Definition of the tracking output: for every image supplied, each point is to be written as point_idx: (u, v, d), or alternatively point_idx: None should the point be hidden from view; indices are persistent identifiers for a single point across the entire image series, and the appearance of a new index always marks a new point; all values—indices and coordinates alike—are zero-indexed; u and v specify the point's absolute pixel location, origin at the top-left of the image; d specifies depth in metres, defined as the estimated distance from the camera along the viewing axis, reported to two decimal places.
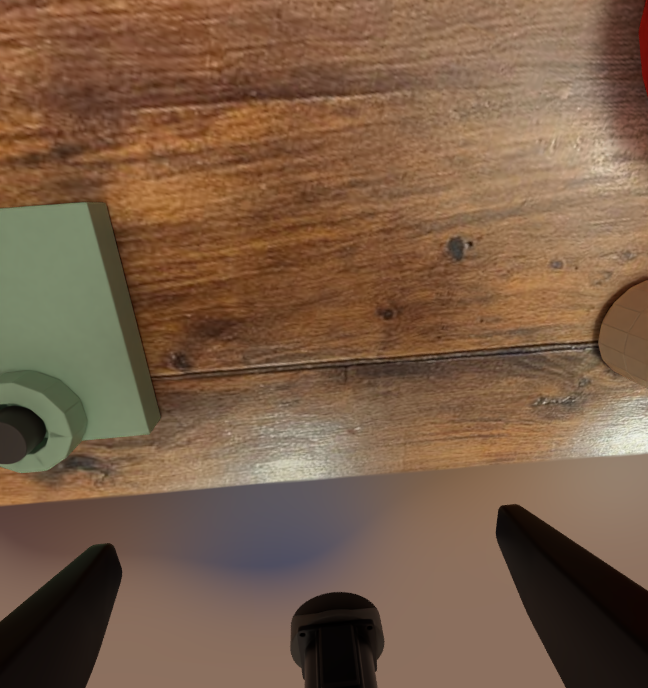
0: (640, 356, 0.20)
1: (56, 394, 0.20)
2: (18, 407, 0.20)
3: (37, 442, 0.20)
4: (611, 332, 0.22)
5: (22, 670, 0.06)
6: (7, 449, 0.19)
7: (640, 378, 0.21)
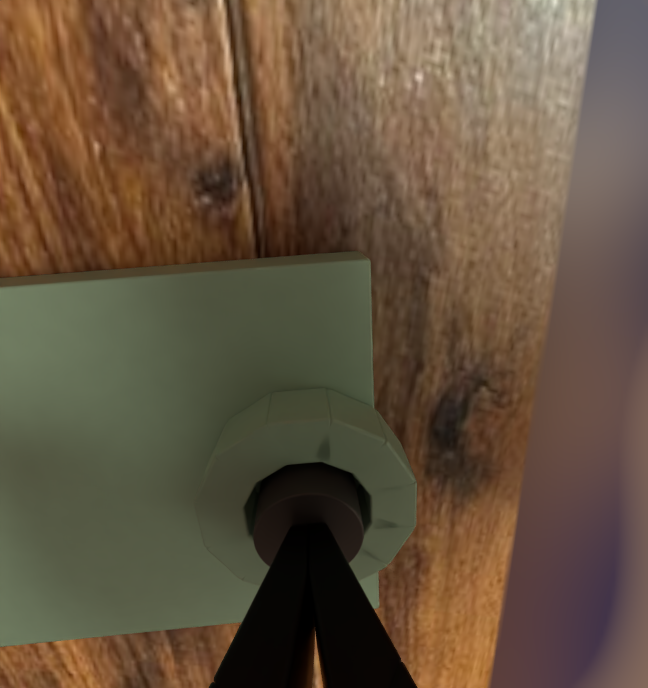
0: None
1: (235, 431, 0.09)
2: (260, 487, 0.10)
3: (332, 472, 0.09)
4: None
5: (300, 641, 0.06)
6: None
7: None
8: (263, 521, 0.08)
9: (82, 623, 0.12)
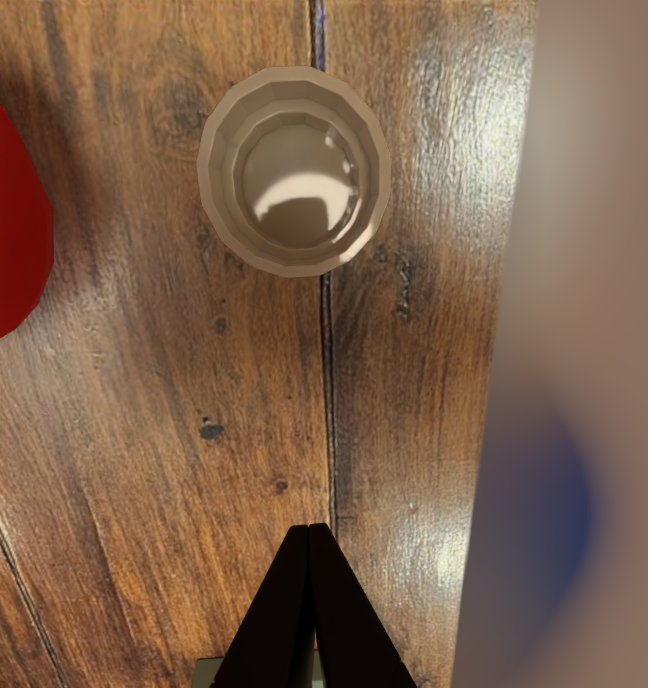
0: None
1: None
2: None
3: None
4: None
5: (300, 641, 0.06)
6: None
7: None
8: None
9: None
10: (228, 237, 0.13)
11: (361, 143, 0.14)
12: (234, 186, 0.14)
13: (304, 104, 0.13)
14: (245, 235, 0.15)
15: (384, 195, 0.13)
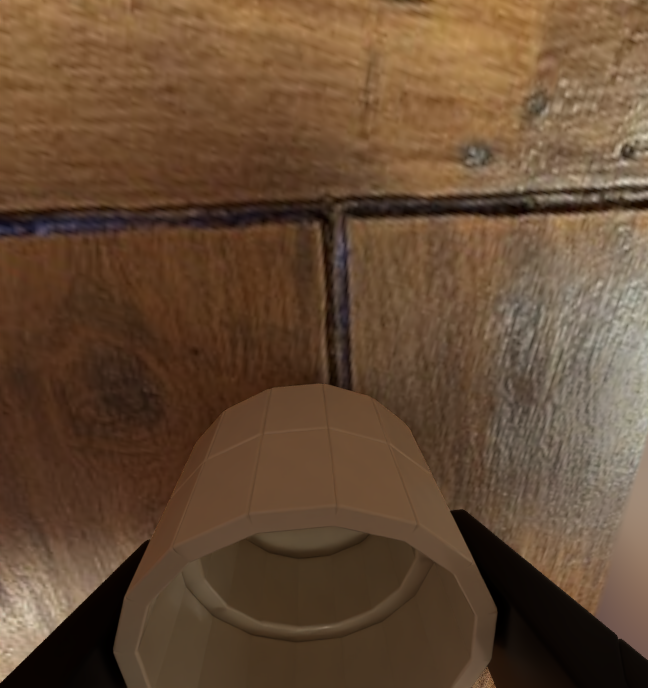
0: None
1: None
2: None
3: None
4: None
5: (98, 662, 0.06)
6: None
7: None
8: None
9: None
10: None
11: None
12: (201, 558, 0.08)
13: None
14: (223, 619, 0.09)
15: (481, 661, 0.07)
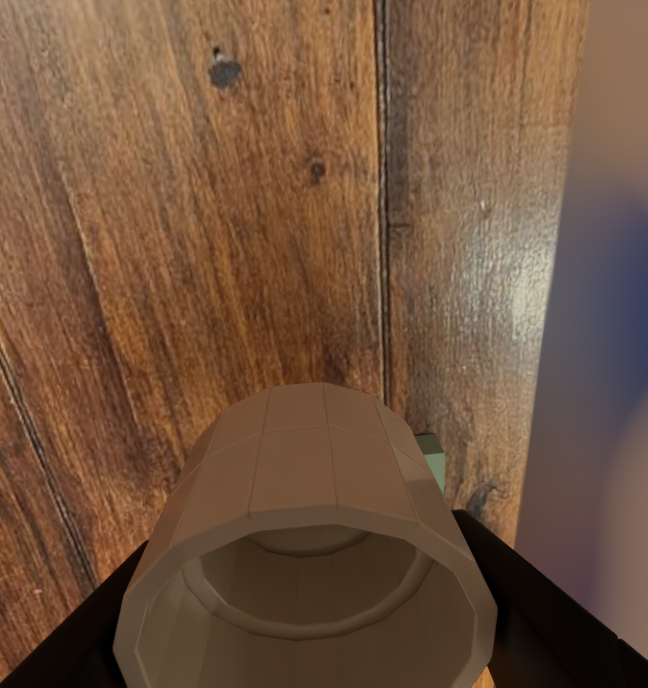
0: None
1: None
2: None
3: None
4: None
5: (98, 662, 0.06)
6: None
7: None
8: None
9: None
10: None
11: None
12: (201, 557, 0.08)
13: None
14: (223, 618, 0.09)
15: (481, 660, 0.07)
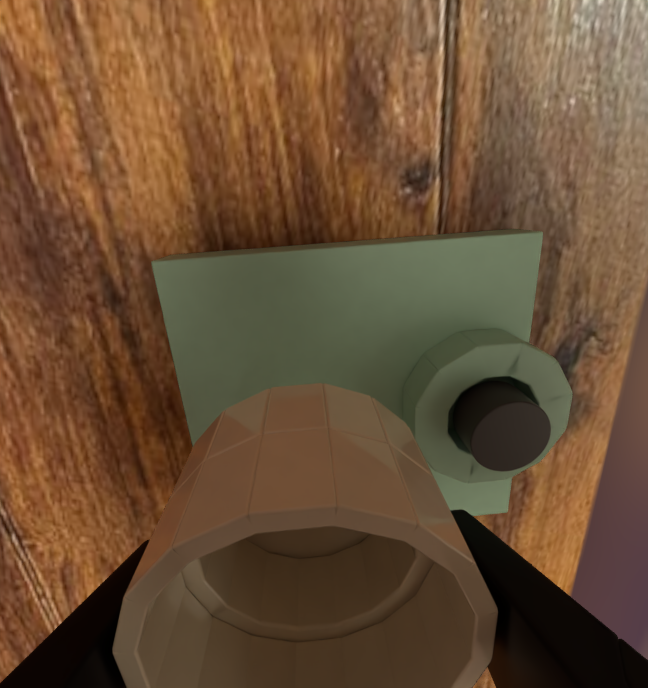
0: None
1: (443, 355, 0.13)
2: (456, 408, 0.13)
3: (520, 392, 0.12)
4: None
5: (98, 662, 0.06)
6: (524, 429, 0.12)
7: None
8: (482, 423, 0.11)
9: None
10: None
11: None
12: (201, 558, 0.08)
13: None
14: (223, 619, 0.09)
15: (481, 661, 0.07)
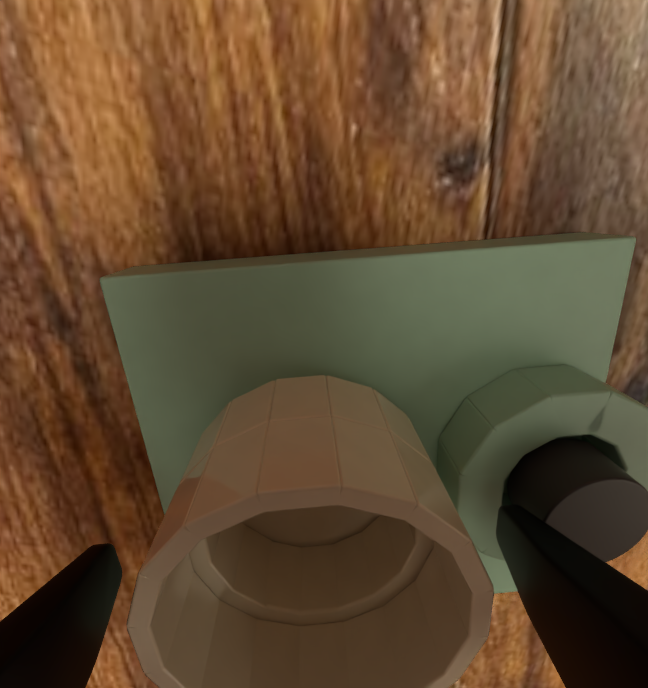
0: None
1: (498, 405, 0.09)
2: (514, 474, 0.10)
3: (606, 457, 0.09)
4: None
5: (22, 670, 0.06)
6: (617, 514, 0.08)
7: None
8: (560, 507, 0.08)
9: None
10: None
11: None
12: (208, 543, 0.09)
13: None
14: (229, 603, 0.09)
15: (478, 638, 0.07)
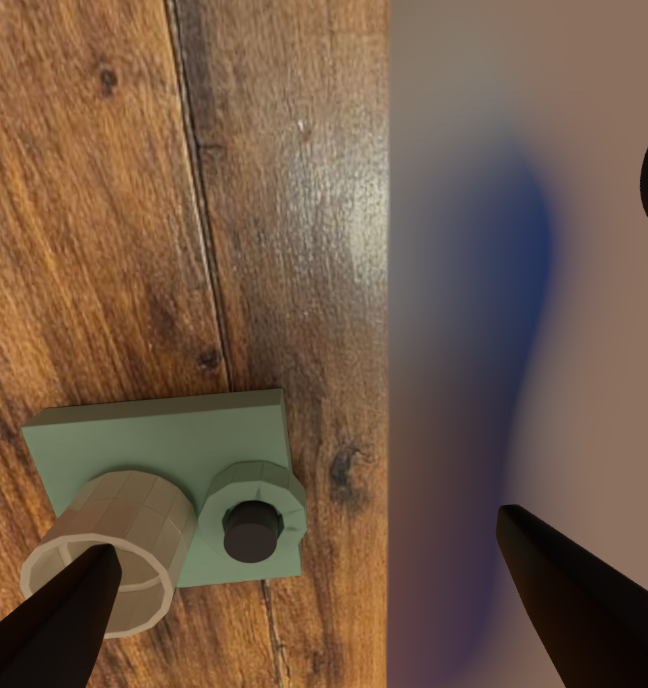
0: None
1: (217, 484, 0.19)
2: None
3: (262, 511, 0.19)
4: None
5: (22, 670, 0.06)
6: (257, 539, 0.18)
7: None
8: (227, 536, 0.18)
9: None
10: None
11: None
12: (70, 552, 0.18)
13: None
14: None
15: (168, 592, 0.17)
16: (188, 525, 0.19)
